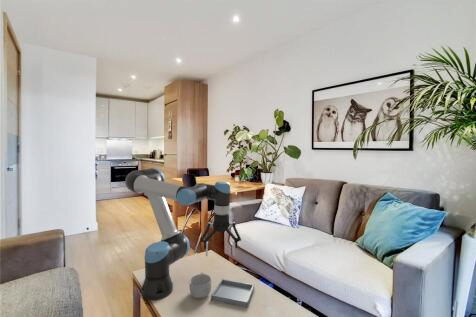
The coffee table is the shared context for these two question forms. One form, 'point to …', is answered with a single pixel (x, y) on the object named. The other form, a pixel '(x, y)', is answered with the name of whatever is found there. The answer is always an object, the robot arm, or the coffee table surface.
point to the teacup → (200, 285)
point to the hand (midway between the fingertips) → (220, 254)
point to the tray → (233, 292)
